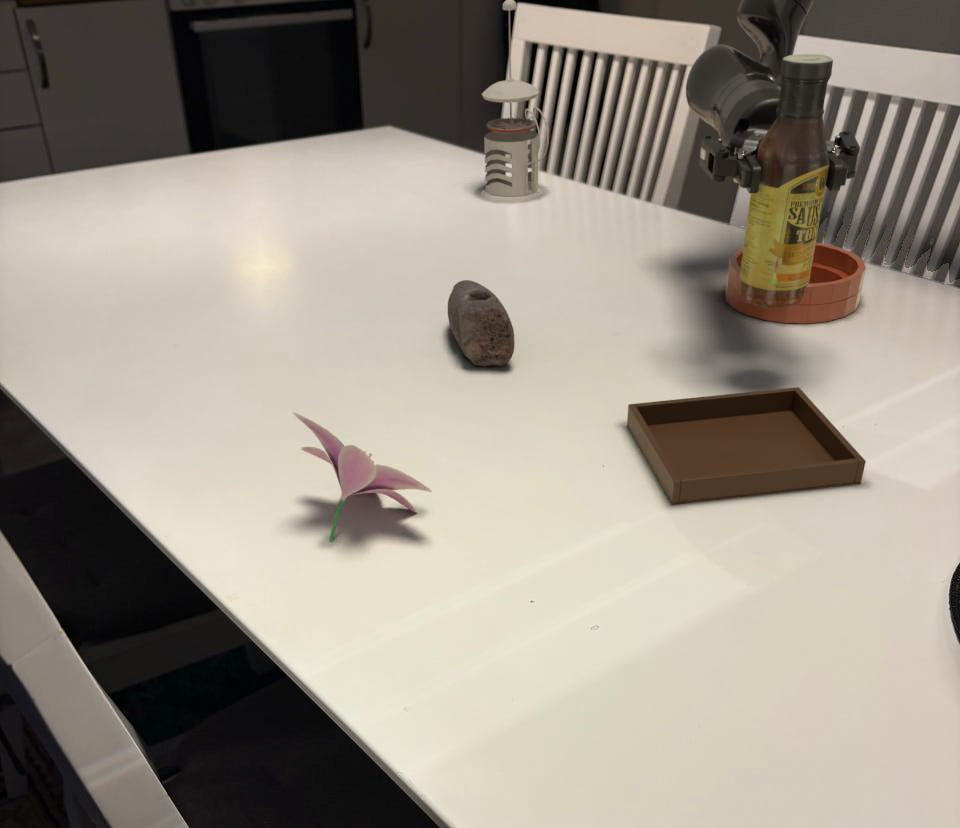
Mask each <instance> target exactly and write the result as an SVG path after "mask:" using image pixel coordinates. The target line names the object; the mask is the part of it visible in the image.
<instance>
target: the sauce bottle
mask: <svg viewBox="0 0 960 828" xmlns="http://www.w3.org/2000/svg"><path fill="white" fill-rule="evenodd" d="M833 65H834V60H833V58H832V57H830V56H828V55H824V54H817V53H815V54H814V53H811V54H809V53H807V54H806V53H802V54H800V53H799V54H793V55H790V56H786V57H784V58H783V60H782V67H781V79H782V83H781V89H780V97H779V104H778V107H777V119H776V120H775V121H774V123H773V125H772V126H771V127H770V129H769V130H768V131H767V133H766V135H765V136H764V138H763V139H762V141H761V143H760V146H759V149H758V155H757V161H758V163H759V164H760V166H761V175H760V183H759V190H758V193H750V197H749V206H748V212H747V221H746V227H745V233H744V241H743V247H742V248H743V256H742V263H741V271H740V279H741V285H740V295H741V298H742V299H743V300H745V301H746V302H748V303H750V304H753V305H757V306H761V307H766V308H767V307H787V306H791V305H795V304H798V303H799V302H800V301H801V300H802V299H803V296H804V294H805V290H806V286H807V284H808V283H809V279H810V273H811V267H812V262H813V256H814V250H815V244H816V243H817V238H818V233H819V227H820V220H821V215H822V209H823V204H824V198H825V193H826V188H827V187H826V181H827V176H828V170H829V157H828V150H827V143H826V141H827V138H826V131H825V130H826V129H825V123H824V114H825V109H824V107H825V101H826V95H827V90H828V89H827V88H828V84H829V83H828V82H829V81H830V79H831V77H832V73H833V72H832V71H833Z"/></svg>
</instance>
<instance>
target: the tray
mask: <svg viewBox="0 0 960 828" xmlns="http://www.w3.org/2000/svg"><path fill="white" fill-rule="evenodd" d="M626 418H627V419H626V427H627V429H628V431H629V432H630V435H631V436H632V437H633V440H634V441H635V443H636V444H637V446H638V448H639V449H640V452H641V453H642V456H643V457H644V458H645V460H646V462H647V464H648V465H649V467H650V469H651V471H652V473H653V475H654V476H655V478H656V479H657V482H658V484H659V485H660V486H661V487H660V488H662V490H663V492H664V493H665V495H666V497H667V499H668V501H669V502H670V504H671V505H672V506H674V505H675V506H676V505H684V504H692V503H702V502H710V501H711V502H712V501H720V500H728V499H729V500H730V499H737V498H739V499H740V498H747V497H756V496H766V495H775V494H783V493H791V492H801V491H802V492H803V491H809V490H818V489H819V490H820V489H827V488H836V487H846V486H856V485H861V484H862V480H863V475H864V470H865V466H866V463H867V461H866V460H865V458H864V457H863V456H862V455H861V454H860V453H859V452H858V451H857V450H856V448H855V447H854V446H853V445H852V444H851V443H850V442H849V440H847V439H846V437H845V436H844V435H843V434H842V433H841V432H840V431H839V429H837V427H836V426H835V425H834V424H833V423H832V422H831V421H830V419H828V417H827V416H825V414H824V413H823V412H822V411H821V410H820V409H819V408H818V407H817V405H815V403H814V402H813V401H812V400H811V399H810V398H809V396H807V395H806V394H805V392H804V391H803V390H802V389H801V388H800V387H799V386H797V387H786V388H776V389H767V390H757V391H747V392H738V393H737V392H736V393H727V394H717V395H716V394H715V395H707V396H706V395H705V396H698V397H687V398H679V399H678V398H677V399H668V400H657V401H647V402H638V403H630V404H628V405H627V417H626Z"/></svg>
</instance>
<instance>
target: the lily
mask: <svg viewBox="0 0 960 828" xmlns="http://www.w3.org/2000/svg"><path fill="white" fill-rule="evenodd" d="M291 413H292V414H293V415H294V417H296V419H298V420H299V421H300V422H302V424H304V425H305V426H306V427H307V429H309V430H310V431H311V432H312V433H313V434H314V435H315V437H316V438H317V439H318V441H319V443H320V444H321V445H322V447H323V449H324V450H323V449H321V448H318V447H315V446H314V447H313V446H303V447H301V448H300V450H302V451H304V452H305V453H308V454H310V455H312V456H315V457H317V458H318V459H321V460H323V461H325V462H327V463H329V464H330V465H331V466H332V468H333V470H334V473H335V475H336V478H337V481H338V484H339V487H340V491H341V496H340V499H339V502H338V505H337V507H336V511H335V513H334V516H333V520H332V526H331V528H330V529H331V530H330V535H329V541H328V542H329V543H332V542H334V537H335V533H336V528H337V525H338V524H337V523H338V519H339V515H340V513H341V509H342V506H343V505H344V502H345V501H346V499H347V498H348V497H351V496H355V495H361V494H382V495H385V496H387V497H389V498H390V499H393V500H394V501H396V502H398V503H399V504H400V505H402V506H404V507H405V508H406V509H408V510H409V511H411V512H413V513H415V514H416V513H417V514H418V511H417V510H416V508H415V507H414V506H413V505H412V504H411V502H410V501H409V500H408V499H406V497H404V496H403V495H402V494H401V493H399V492H397V491H400V490H418V491H423V492H428V493H432V491H433V490H432V489H431V488H429V487H428V486H426V485H425V484H424V483H422V482H421V481H419V480H417V479H416V478H415V477H412V476H410V475H409V474H407V473H405V472H404V471H401V470H399V469H396V468H393V467H391V466H390V465H389V466H388V465H383V464H375V462H374V460H372V458H371V457H372V455H373V454H372V453H369V454H367V453H366V452H367V451H366V450H365V451H364V450H363V449H361V448H360V447H358V446H356V445H353V444H348V445H345V444H344V443H343V442H342V441H341V440H340V439H339V438H338V437H337V436H335V435H334V434H333V433H332V432H330V431H329V430H328V429H326V428H325V427H323V426H322V425H320V424H318V423H317V422H315V421H313V420H311V419H309V418H307V417H305V416H303V415H301V414H299V413H296V412H293V411H292V412H291Z"/></svg>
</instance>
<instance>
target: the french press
mask: <svg viewBox="0 0 960 828" xmlns="http://www.w3.org/2000/svg"><path fill="white" fill-rule="evenodd" d="M502 10H503V11H507V12H508V54H509V55H508V62H509V63H508V66H509V67H508V69H509V77H508V78H506V79H505V80H501V81H500V80H499V81H497V82H495V83H493V84H491V85H490V86H489V87H487V88H486V89H485V90H484V91H483V92H482V93H481V96H482V97H483V100H485V101H488V102H493V103H505V104H506V103H509V117H501V118H497V119H493V120H490V121H488V122H486V124H485V126H486V128H487V129H488V130H489V132H487V133H486V134H485V135H484V137H483V140H484V141H483V143H484V145H483V146H484V154H486V155H485V157H484V163H485V166H484V173H485V177H484V178H485V179H484V181H485V182H486V183H485V185H484V187H485V188H484V189H483V190H482V191H481V192H480V194H481V196H482V197H483V198H486V199H487V200H489V201H495V202H510V203H511V202H512V203H513V202H522V201H528V200H532V199H536V198H538V197H540V196H541V195H542V194H543V193H544V191H543V190H542V188H541V187H540V185H539V162H540V161H542V160H543V159H544V158H545V156H546V155H547V152H548V147H549V140H550V139H549V136H550V133H549V131H550V130H549V125H548V122H547V120H546V116H545V115H544V113H543V112H542V110H541V109H540V108H539V107H538V106H534V107H533V108H532V111H531V110H530V109H529V108H526V109H524V117H522V118H521V117H520V116H519V117H514V116H512V115H513V113H512V111H513V109H512V108H513V107H512V106H513V105H512V104H513V103H522V102H526V101H531V100H534V99H536V98H537V97H538V95H539V94H540V90H539V89H537V88H536V87H535V86H534V85H533V84H531V83H528V82H525V81H523V80H519V79H514V78H512V44H511V42H512V39H511V37H512V36H511V11H515V10H517V2H516V1H515V0H505V1H504V2H503V3H502ZM536 111H538V112H539V114H540V116H541V118H542V119H543V121H544V125H545V129H546V145H545V150H544V152H543V154H542V156H541V157H540V158H539V152H540V148H541V130H540V127H539V123H538V121H537V118H536V116H535V115H536ZM527 113H529V114H530V115H531V116H528V115H527ZM535 127H537V132H536V131H534V130H533V129H535ZM529 140H531V143H529ZM529 150H531V152H529ZM506 155H509V156H510V155H511V158H510V157H508V156H506ZM530 159H531V161H529V160H530ZM506 164H508V165H511V167H510V166H507V165H506ZM530 168H531V171H529V169H530ZM507 173H508V174H511V176H508V175H507Z"/></svg>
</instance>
